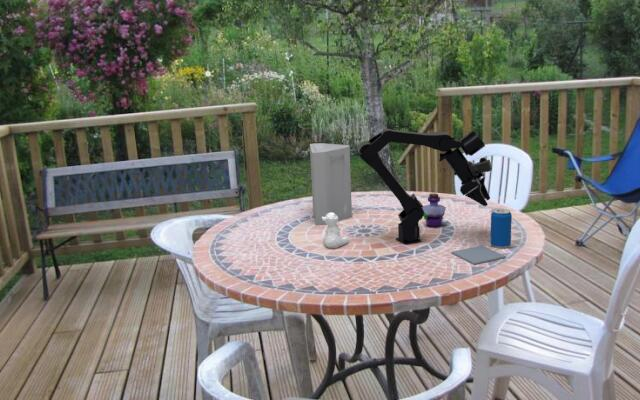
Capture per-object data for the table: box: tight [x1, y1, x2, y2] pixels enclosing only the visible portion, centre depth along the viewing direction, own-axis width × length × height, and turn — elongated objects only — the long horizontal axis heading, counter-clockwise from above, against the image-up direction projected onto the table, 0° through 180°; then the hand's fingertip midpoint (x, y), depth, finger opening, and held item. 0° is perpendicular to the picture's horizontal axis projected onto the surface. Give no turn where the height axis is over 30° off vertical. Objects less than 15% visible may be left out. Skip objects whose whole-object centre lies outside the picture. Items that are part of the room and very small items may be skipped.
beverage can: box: [490, 207, 513, 249], centre depth 209 cm, size 6×6×12 cm
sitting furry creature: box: [322, 212, 351, 249], centre depth 217 cm, size 10×9×12 cm
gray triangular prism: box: [309, 142, 353, 226], centre depth 247 cm, size 19×15×28 cm
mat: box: [450, 244, 507, 266], centre depth 202 cm, size 12×12×1 cm
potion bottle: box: [422, 193, 447, 229], centre depth 233 cm, size 9×9×12 cm
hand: (487, 202), depth 211 cm, fingers open, 9 cm apart
